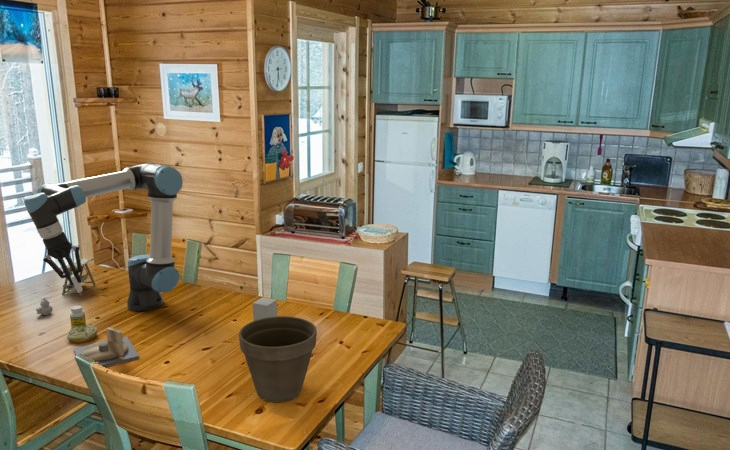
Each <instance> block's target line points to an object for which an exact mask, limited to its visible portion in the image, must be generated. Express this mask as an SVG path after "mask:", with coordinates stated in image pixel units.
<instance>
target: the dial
mask: <svg viewBox="0 0 730 450" xmlns="http://www.w3.org/2000/svg"><path fill="white" fill-rule="evenodd" d="M106 337H107V340H101V341H97V342H95V343H91V344H92V345H91V344H89V345H90V346H88V347H86V348H85V349H84V351H83V355H84V356H86V357H88V358H90V359H92V360H94V361H104V360H110V359H114V358H116V357H119V356H122V355H124V353H125V352H126V351H127V349H128V346H127V343H125V342H124V341H123V339H122V338H123V331H121V330H118V329H115V328H113V327H106Z"/></svg>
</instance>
